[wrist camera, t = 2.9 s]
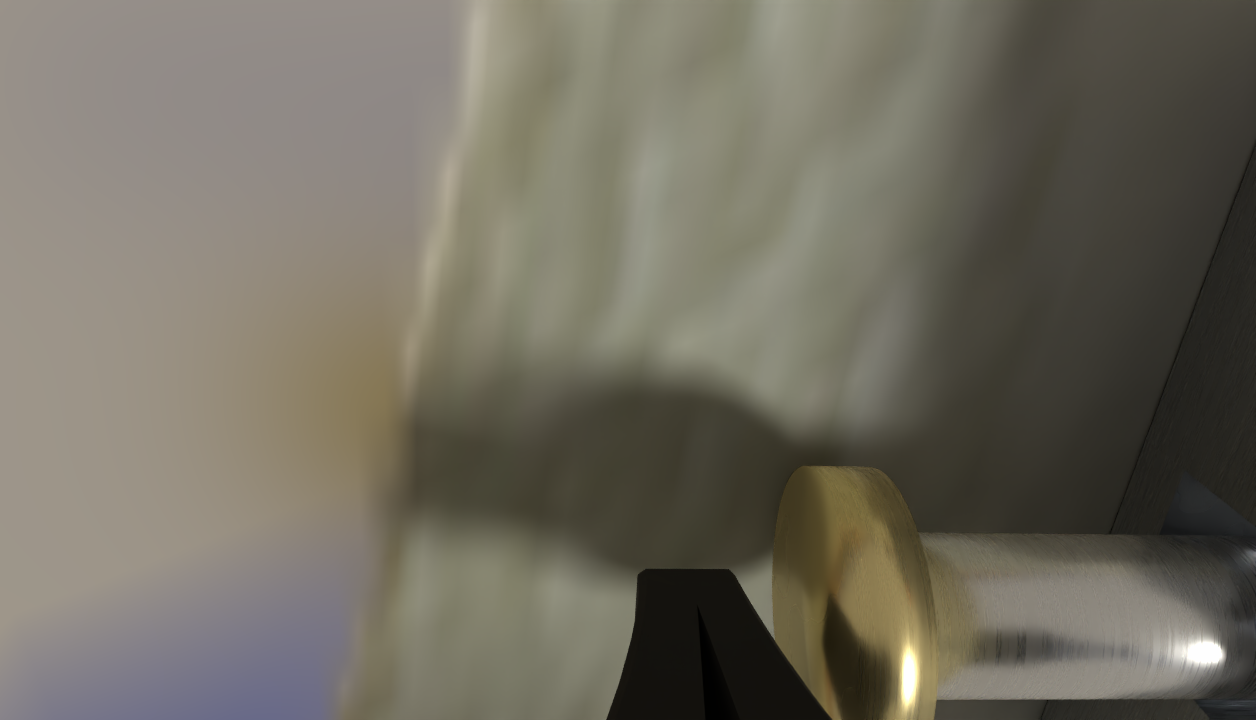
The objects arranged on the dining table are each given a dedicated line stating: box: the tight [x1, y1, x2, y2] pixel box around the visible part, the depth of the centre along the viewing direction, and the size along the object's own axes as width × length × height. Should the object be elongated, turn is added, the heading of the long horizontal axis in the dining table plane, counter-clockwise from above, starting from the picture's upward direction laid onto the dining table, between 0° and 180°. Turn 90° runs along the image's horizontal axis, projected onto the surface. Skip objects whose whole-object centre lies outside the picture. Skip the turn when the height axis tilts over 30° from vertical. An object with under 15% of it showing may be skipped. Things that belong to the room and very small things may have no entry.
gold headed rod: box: [772, 466, 1256, 720], centre depth 12 cm, size 10×4×4 cm, turn 88°
